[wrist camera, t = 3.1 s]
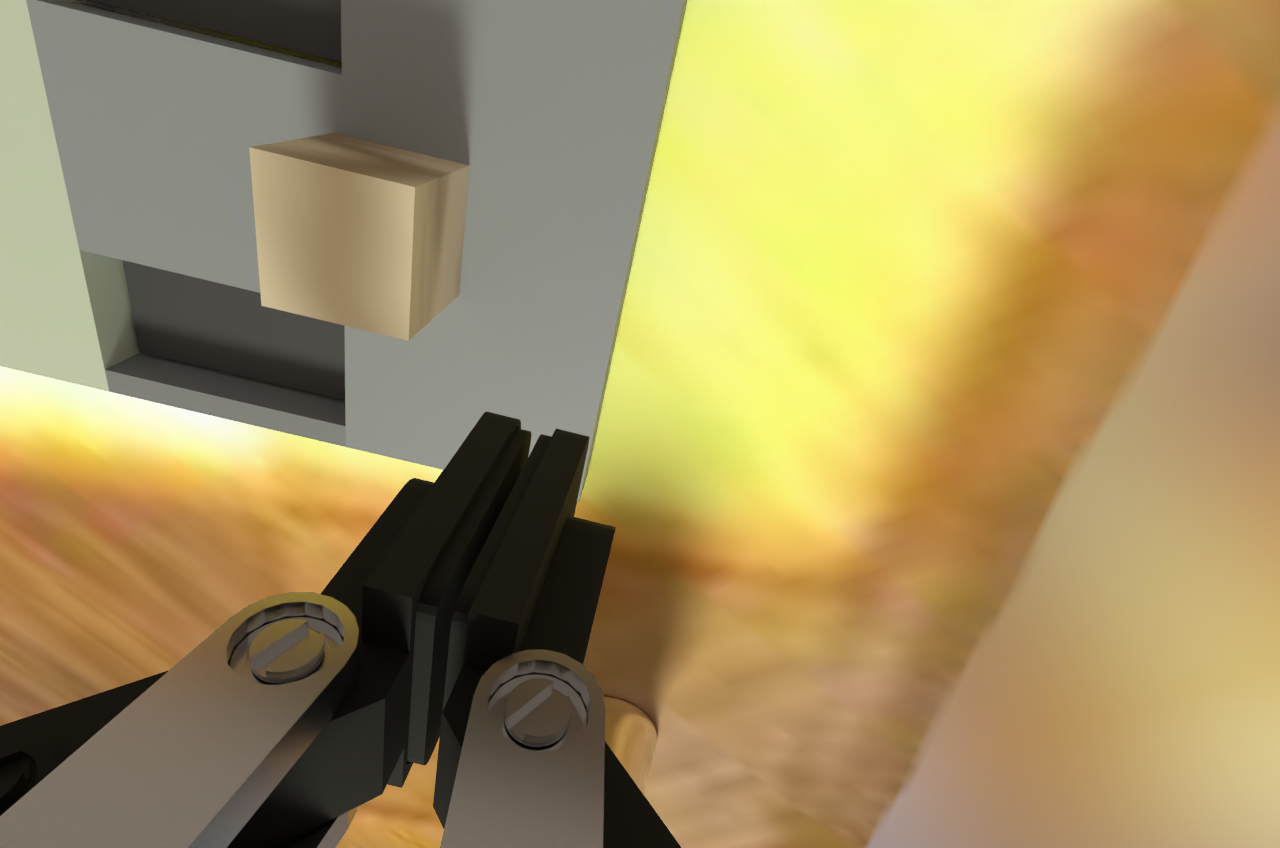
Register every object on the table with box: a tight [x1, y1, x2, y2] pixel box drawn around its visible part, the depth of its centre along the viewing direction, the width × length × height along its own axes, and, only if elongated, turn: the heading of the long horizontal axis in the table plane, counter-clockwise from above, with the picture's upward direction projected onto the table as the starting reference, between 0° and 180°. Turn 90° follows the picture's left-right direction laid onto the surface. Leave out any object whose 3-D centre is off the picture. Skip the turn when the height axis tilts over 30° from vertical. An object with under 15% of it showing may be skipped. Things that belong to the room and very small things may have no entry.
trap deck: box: [0, 0, 687, 501], centre depth 23 cm, size 28×20×2 cm
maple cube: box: [249, 133, 470, 341], centre depth 20 cm, size 4×4×4 cm
